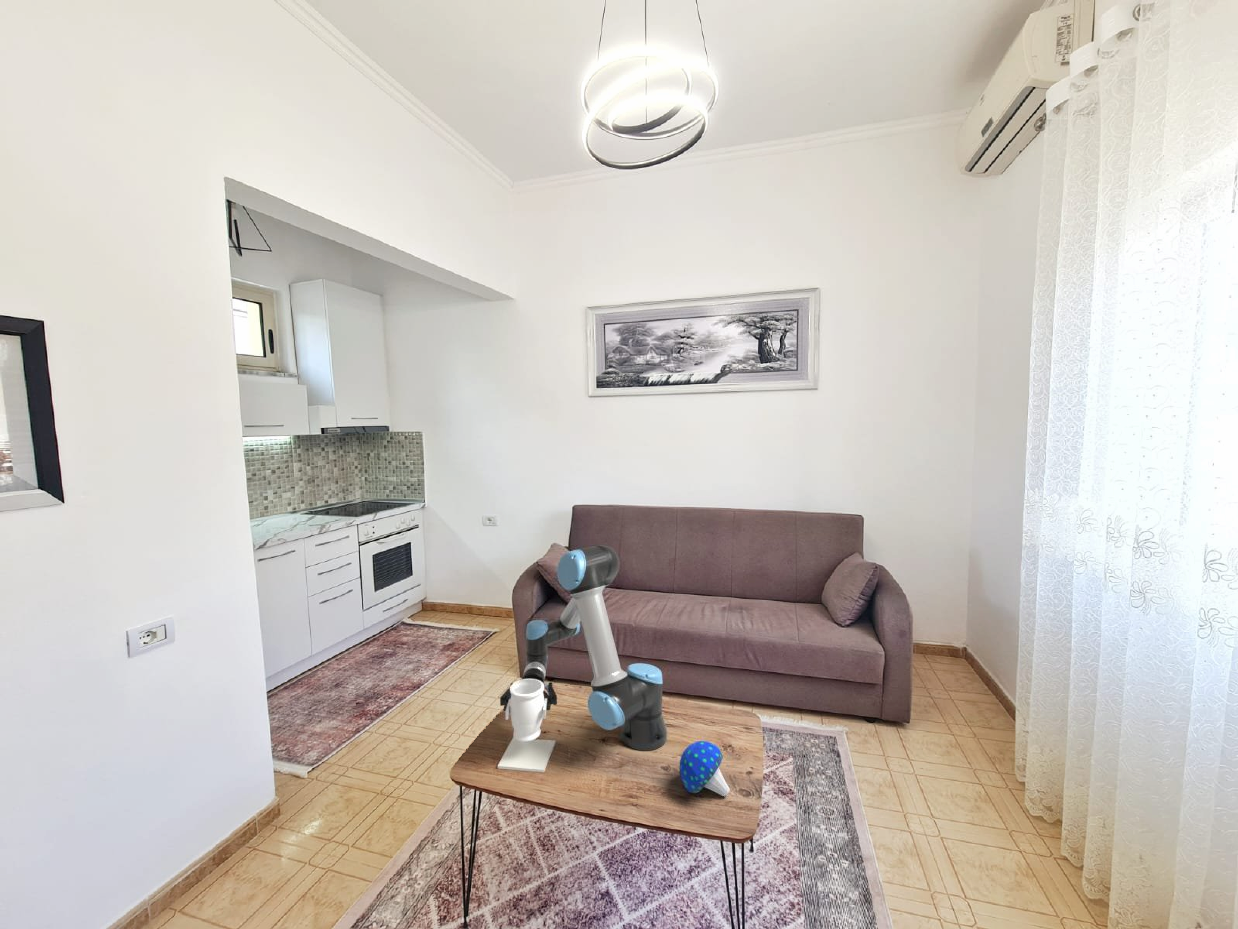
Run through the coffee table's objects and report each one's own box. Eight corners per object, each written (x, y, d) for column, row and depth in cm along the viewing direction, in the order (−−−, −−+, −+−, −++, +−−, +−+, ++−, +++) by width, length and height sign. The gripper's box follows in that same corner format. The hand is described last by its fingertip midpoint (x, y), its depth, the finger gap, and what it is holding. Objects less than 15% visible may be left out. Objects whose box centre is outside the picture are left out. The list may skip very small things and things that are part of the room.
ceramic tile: (555, 743, 157) (555, 740, 157) (543, 772, 143) (543, 770, 143) (513, 739, 159) (513, 737, 159) (497, 768, 145) (497, 766, 145)
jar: (536, 747, 145) (536, 697, 144) (504, 742, 147) (504, 693, 146) (548, 726, 155) (549, 680, 154) (518, 721, 157) (518, 676, 156)
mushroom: (743, 786, 127) (698, 740, 132) (708, 826, 128) (664, 779, 133) (744, 763, 141) (703, 722, 145) (712, 799, 142) (673, 758, 146)
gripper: (567, 688, 169) (563, 726, 147) (499, 689, 168) (486, 727, 146) (567, 667, 169) (564, 701, 147) (499, 668, 167) (486, 703, 145)
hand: (525, 714), depth 146 cm, fingers closed on jar, 10 cm apart
